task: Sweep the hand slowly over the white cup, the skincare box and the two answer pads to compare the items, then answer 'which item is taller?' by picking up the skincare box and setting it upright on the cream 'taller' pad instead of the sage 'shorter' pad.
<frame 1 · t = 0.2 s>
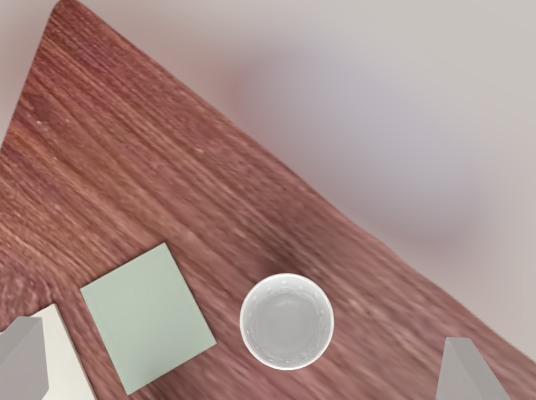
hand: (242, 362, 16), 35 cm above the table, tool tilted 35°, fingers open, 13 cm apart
shorter pad: (148, 315, 52), on the table
white cup: (286, 325, 51), on the table
taller pad: (33, 381, 50), on the table
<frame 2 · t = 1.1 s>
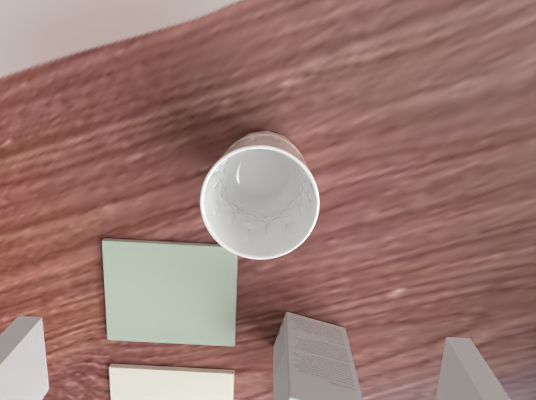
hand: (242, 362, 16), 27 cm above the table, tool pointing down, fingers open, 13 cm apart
shorter pad: (171, 292, 45), on the table
white cup: (264, 169, 42), on the table
skincare box: (309, 336, 47), on the table
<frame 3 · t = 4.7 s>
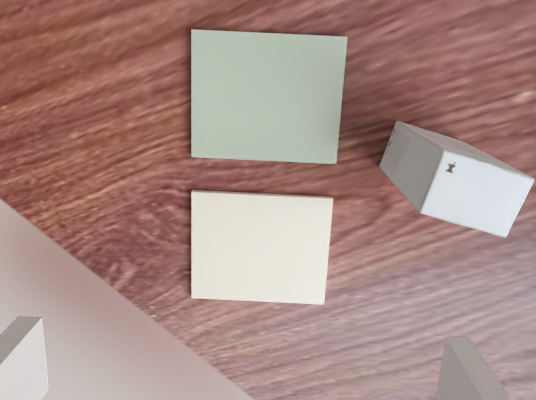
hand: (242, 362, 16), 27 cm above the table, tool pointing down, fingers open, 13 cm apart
shorter pad: (266, 98, 40), on the table
skincare box: (419, 154, 41), on the table
taller pad: (260, 247, 44), on the table
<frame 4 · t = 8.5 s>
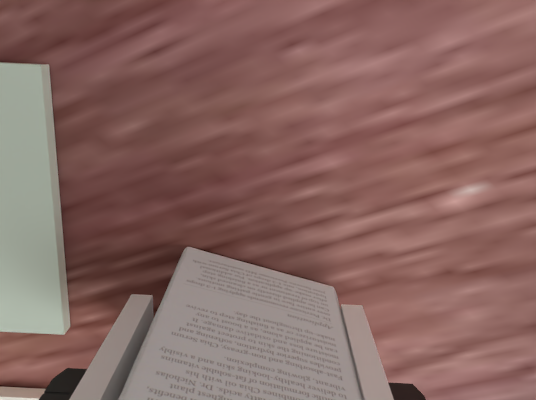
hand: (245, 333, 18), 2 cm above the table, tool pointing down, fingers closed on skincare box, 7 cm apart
skincare box: (249, 309, 19), on the table, touching gripper
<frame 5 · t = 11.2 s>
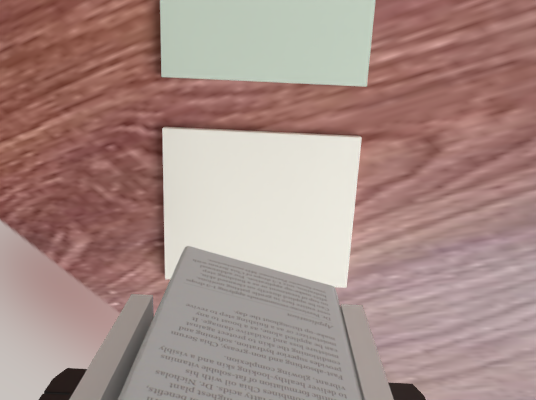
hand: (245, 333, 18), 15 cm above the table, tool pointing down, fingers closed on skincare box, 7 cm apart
skincare box: (248, 308, 19), point 13 cm above the table, touching gripper
taller pad: (258, 208, 32), on the table
when the fingers open (4 cm above the table, at t = 14.0 s): skincare box drops 1 cm, resting on taller pad.
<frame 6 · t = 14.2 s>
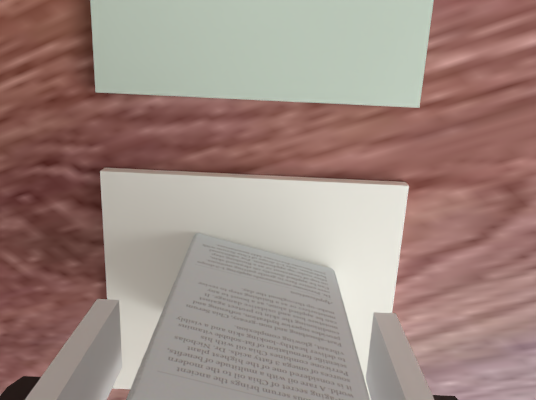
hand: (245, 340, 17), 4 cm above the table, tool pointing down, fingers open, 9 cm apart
skincare box: (254, 291, 21), resting on taller pad
taller pad: (250, 287, 21), on the table
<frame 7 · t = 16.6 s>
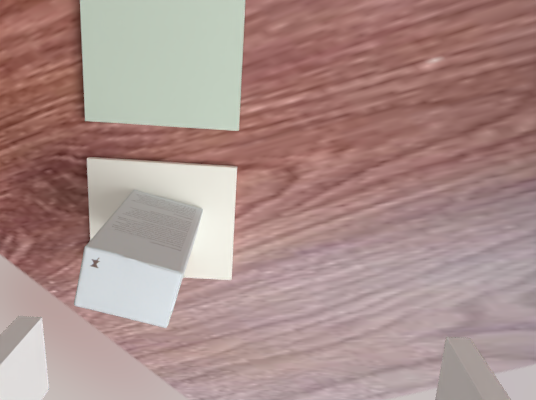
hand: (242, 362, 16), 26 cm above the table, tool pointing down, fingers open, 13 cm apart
shorter pad: (163, 59, 38), on the table
skincare box: (164, 220, 41), resting on taller pad
taller pad: (163, 219, 42), on the table
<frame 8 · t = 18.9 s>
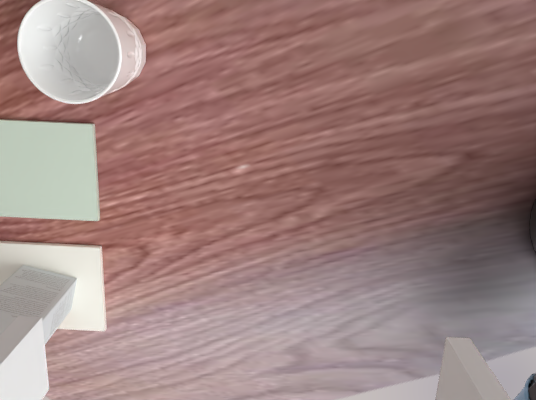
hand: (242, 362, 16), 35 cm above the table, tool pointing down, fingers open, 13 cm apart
shorter pad: (38, 170, 50), on the table
white cup: (112, 50, 47), on the table
skincare box: (49, 286, 54), resting on taller pad
taller pad: (49, 285, 54), on the table
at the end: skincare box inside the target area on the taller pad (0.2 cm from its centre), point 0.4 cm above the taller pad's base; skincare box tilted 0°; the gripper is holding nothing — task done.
